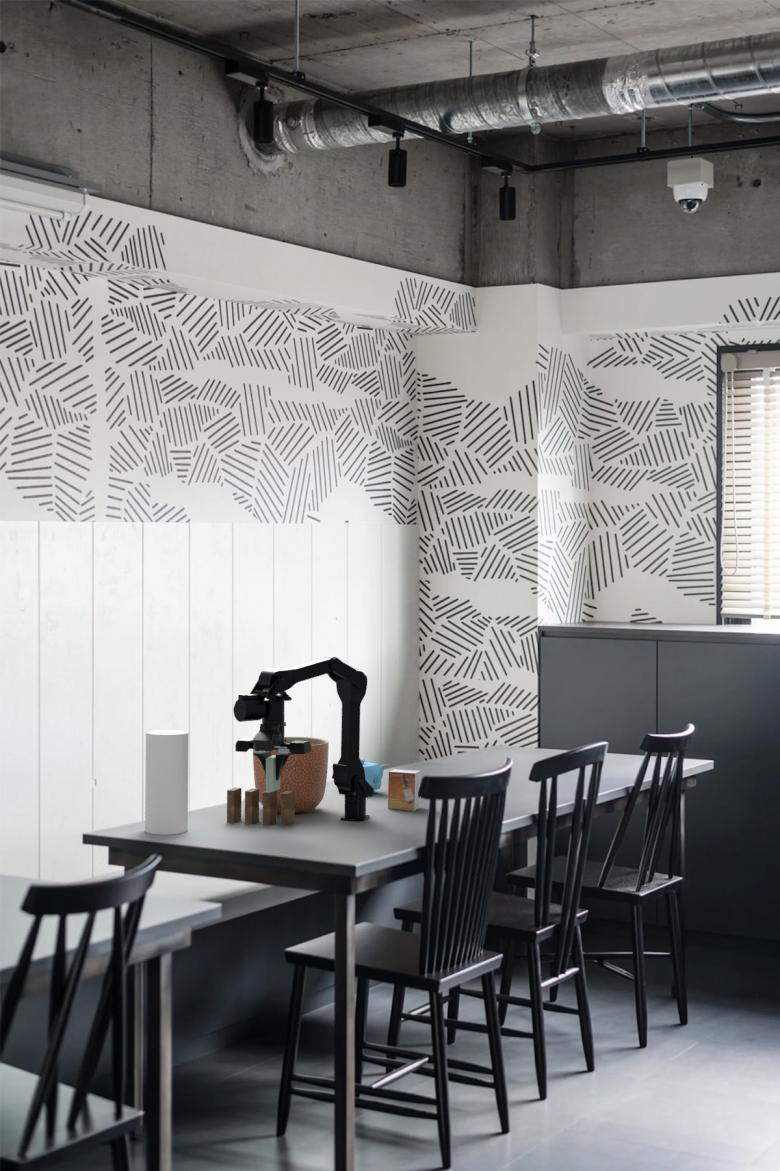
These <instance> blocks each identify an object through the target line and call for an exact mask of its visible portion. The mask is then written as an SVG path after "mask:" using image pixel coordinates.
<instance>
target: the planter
mask: <svg viewBox="0 0 780 1171" xmlns="http://www.w3.org/2000/svg"><path fill="white" fill-rule="evenodd" d="M284 738H286V742H284V743H290V742H293V741H296V740H299V741H309V742H310V744H311V752H309V753H306V754H293V755H290V756H289V758H288V759H287V761H286V763H285V765H284V768H283V770H282V773H281V776H280V789H278V790H277V814H278V813H280V814H281V793H283V792H285V791H295V814H300V813H307V812H310V811H314V809H316V808H317V807H319V805H320V804H321V802H322V801H323V800H324V796H325V793H326V787H327V779H328V770H329V769H328V766H329V740H327V739H325V738H318V737H308V736H284ZM253 753H254V749H252V761H253V762H252V763H253V780H254V789H259V804H261V806H263V792H265V791H266V774H265V771H264V768H263V766H262V763H261V761H260V759H259V758H258V757H257V756H254V755H253ZM276 754H279V750H272V751H271V756H272V755H276Z"/></svg>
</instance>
